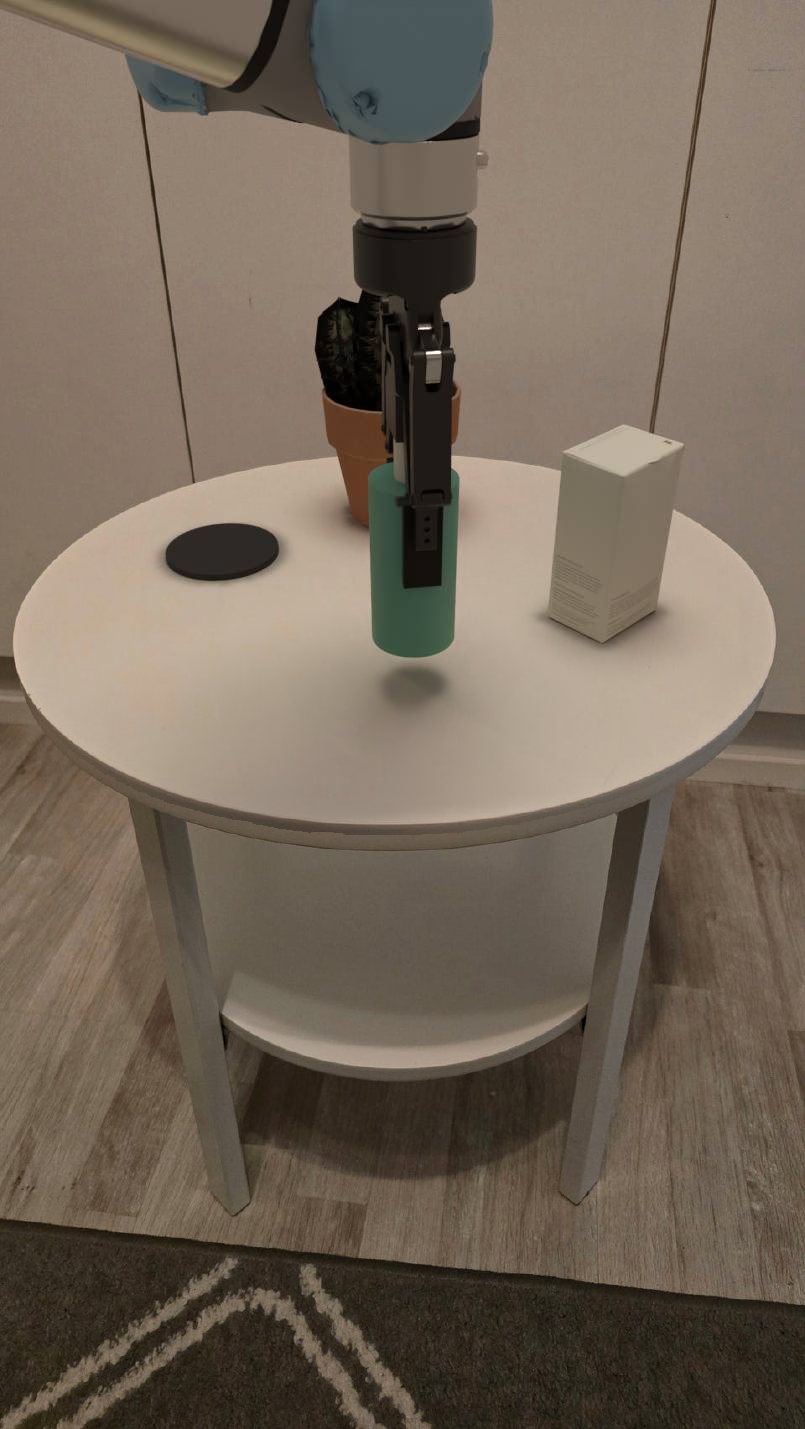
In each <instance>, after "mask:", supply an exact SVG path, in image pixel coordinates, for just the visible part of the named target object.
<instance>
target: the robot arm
mask: <svg viewBox="0 0 805 1429" xmlns="http://www.w3.org/2000/svg"><path fill="white" fill-rule="evenodd" d="M0 10H2V11H4V12H7V13H10V14H13V15H15V16H18V17H20V18H24V19H27V20H29V21H32V22H35V23H38V24H41V25H44V26H46V27H49V28H52V29H55V30H57V31H60V32H63V33H65V34H68V35H71V36H73V37H77V38H80V39H83V40H85V41H88V42H90V43H93V44H96V45H99V46H102V47H105V48H108V49H109V50H113V51H116V52H119V53H121V54H124V57H125V61H126V64H127V67H128V70H129V74H130V76H131V78H132V82H133V84H134V86H135V88H136V89H137V91H138V93H139V95H140V96H141V98H142V99H143V100H144V101H145V102H146V104H148V105H149V106H150V107H151V108H152V109H154V110H156V111H158V112H160V113H197V115H200V116H209V114H210V113H217V112H219V113H220V112H235V111H236V112H249V113H253V114H257V115H262V116H266V117H270V118H275V119H279V120H284V121H289V122H293V123H297V124H307V125H311V126H313V127H318V128H321V129H324V130H327V131H333V132H336V133H339V134H343V135H345V136H346V135H347V136H348V157H349V158H348V159H349V160H348V164H349V190H350V191H349V192H350V207H351V208H352V210H353V211H354V212H355V213H356V214H359V215H360V218H358V219H357V220H356V221H355V224H354V225H352V229H351V230H352V259H353V279H354V282H355V284H356V285H357V287H358V288H360V289H361V291H362V290H364V291H366V292H368V293H371V294H375V295H379V296H384V297H381V299H380V303H379V310H380V311H381V314H380V333H381V337H382V425H381V432H382V434H383V437H386V441H385V450H386V451H387V454H388V455H389V454H392V455H393V458H386V464H387V463H391V462H394V446H393V435H392V432H391V430H390V428H389V425H388V423H387V420H386V382H385V376H386V365H387V359H391V367H392V385H393V393H394V394H396V396H398V397H400V398H401V401H402V428H403V447H404V466H405V485H406V493H405V496H400V497H395V503H396V506H397V507H402V584H403V587H404V589H409V588H421V587H433V586H442V549H443V506H450V505H451V500H452V492H451V468H452V453H453V452H452V451H453V450H452V446H453V444H452V384H453V379H454V371H455V364H456V361H457V357H456V356H457V355H456V353H455V349H454V348H453V347H451V343H452V339H451V338H452V336H451V325H450V322H449V321H444V322H442V316H443V312H442V306H441V305H442V301H443V299H445V298H446V297H448V296H450V295H451V294H452V295H457V294H461V293H463V292H464V291H466V290H468V289H469V288H471V287H472V286H473V284H474V282H475V280H476V268H477V267H476V266H477V243H478V242H477V241H478V226H477V225H476V224H475V221H474V220H473V219H472V218H470V217H468V215H469V214H471V213H472V212H473V211H474V210H475V209H476V208H477V207H478V191H479V189H478V188H479V177H478V170H484V169H486V168H487V167H488V166H489V165H488V164H489V155H488V153H487V151H486V150H482V149H480V132H481V118H482V103H483V102H482V101H483V80H484V76H485V72H486V70H487V68H488V65H489V56H490V54H491V51H492V44H493V39H494V38H493V37H494V7H493V0H0ZM479 149H480V150H479ZM402 373H403V374H404V375H406V376H407V377H409V378H410V381H409V384H405V383H404V382H403V375H402Z"/></svg>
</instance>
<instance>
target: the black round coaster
mask: <svg viewBox="0 0 805 1429" xmlns="http://www.w3.org/2000/svg"><path fill="white" fill-rule="evenodd" d="M279 550H280V547H279V541H278V539H277V537H276V536H275V535H274V534H273V533H272V532H271V531H269V530H267V529H266V528H263V527H260V526H257V525H253V524H247V523H241V522H239V523H237V522H221V523H214V524H208V525H203V526H199V527H195V528H192V529H190V530H188V531H185V532H183V533H181V534H180V535H178V536H176V537H175V538H173V540H171V541H170V542H169V544H168V545H167V547H166V549H165V554H164V555H165V560H166V564H167V565H168V567H169V568H170V569H171V570H173V571H174V572H176V573H177V574H179V575H181V576H184V577H188V578H191V579H197V580H202V581H203V580H204V581H223V580H232V579H237V578H238V579H239V578H241V577H246V576H248V575H252V574H255V573H257V572H260V571H261V570H263V569H265V568H266V567H268V566H269V565H271V564H272V563H273V562H274V561H275V559H276V558H277V556H278V554H279V552H280V551H279Z"/></svg>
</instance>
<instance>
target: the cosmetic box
mask: <svg viewBox="0 0 805 1429" xmlns="http://www.w3.org/2000/svg"><path fill="white" fill-rule="evenodd" d="M684 450H685V444H684V443H683V442H680V441H677V440H673V439H670V438H667V437H664V436H661V435H658V434H654V433H651V432H648V431H646V430H643V429H641V428H640V429H639V428H636V427H634V426H631V425H628V424H621V425H618V426H617V427H614V428H612V429H610V430H608V431H605V432H603V433H601V434H599V435H597V436H595V437H592V438H590V439H588V440H586V441H583V442H581V443H579V444H577V445H574V446H572V447H570V448H568V449H565V450H563V451H562V458H561V470H560V481H559V491H558V501H557V502H558V503H557V513H556V522H555V523H556V524H555V534H554V545H553V555H552V563H551V564H552V565H551V566H552V567H551V577H550V585H549V596H548V597H549V598H548V607H547V616H548V618H550V619H552V620H554V621H556V622H558V623H559V624H562V625H564V626H566V627H568V628H570V629H572V630H574V631H575V632H578V633H580V634H583V635H585V636H587V637H588V638H590V639H592V640H595V641H596V642H599V643H601V644H602V643H603V644H604V643H605V642H606V641H608V640H610V639H612V638H613V637H614V636H616V635H618V634H619V633H620V632H622V631H624V630H625V629H627V628H629V627H630V626H632V625H633V624H635V623H636V622H639V621H640V620H641V619H643V618H645V617H646V616H648V615H649V614H651V613H653V612H654V611H656V610H657V609H658V601H659V597H660V596H659V595H660V590H661V589H660V588H661V583H662V576H663V572H664V566H665V559H666V553H667V547H668V541H669V535H670V529H671V523H672V520H673V519H672V518H673V514H674V513H673V512H674V507H675V501H676V495H677V489H678V484H679V476H680V472H681V467H682V461H683V455H684Z"/></svg>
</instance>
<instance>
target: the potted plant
mask: <svg viewBox="0 0 805 1429" xmlns="http://www.w3.org/2000/svg"><path fill="white" fill-rule="evenodd" d="M381 297H384V296H379V295H375V294H371V293H368V292H366V291H364V290H362V289H361V292H360V295H359V298H358V301H357V302H356V301H352V300H348V299H346V298H342V297H341V296H338V297H337V298H336V300H335V301H333V303H331V304H330V305H328V307H327V308H326V309H324V310H323V311H322V312H321V314H320V315H319V316H318V317H317V322H316V332H315V342H314V354H315V358H316V359H315V360H316V362H317V366H318V369H319V373H320V379H321V382H322V384H323V388H322V389H321V397H322V405H323V415H324V424H325V433H326V438H327V443H328V445H329V446H331V447H332V448H334V450H335V452H336V456H337V460H338V463H339V468H340V471H341V476H342V479H343V483H344V487H345V490H346V494H347V495H346V496H347V498H348V502H349V507H350V511H351V514H352V518H353V519H355V520H356V521H357V523H359V524H360V525H361V524H362V525H364V526H366V527H368V528H369V498H368V476H369V474H370V473H371V472H372V471H373V470H374V469H375V468H377V467H379V466H381V465H384V464H386V458H393V455H392V454H389V455H388V454H387V451H386V450H385V441H386V437H383V434H382V432H381V425H382V337H381V333H380V314H381V311H380V310H379V303H380V299H381ZM442 322H445V320H444V316H443V315H442ZM461 397H462V387H461V386H460V385H459V383H458V381H457V380H456V379H454V378H453V384H452V445H455V443H457V437H458V435H459V423H460V411H461V410H460V409H461Z"/></svg>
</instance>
